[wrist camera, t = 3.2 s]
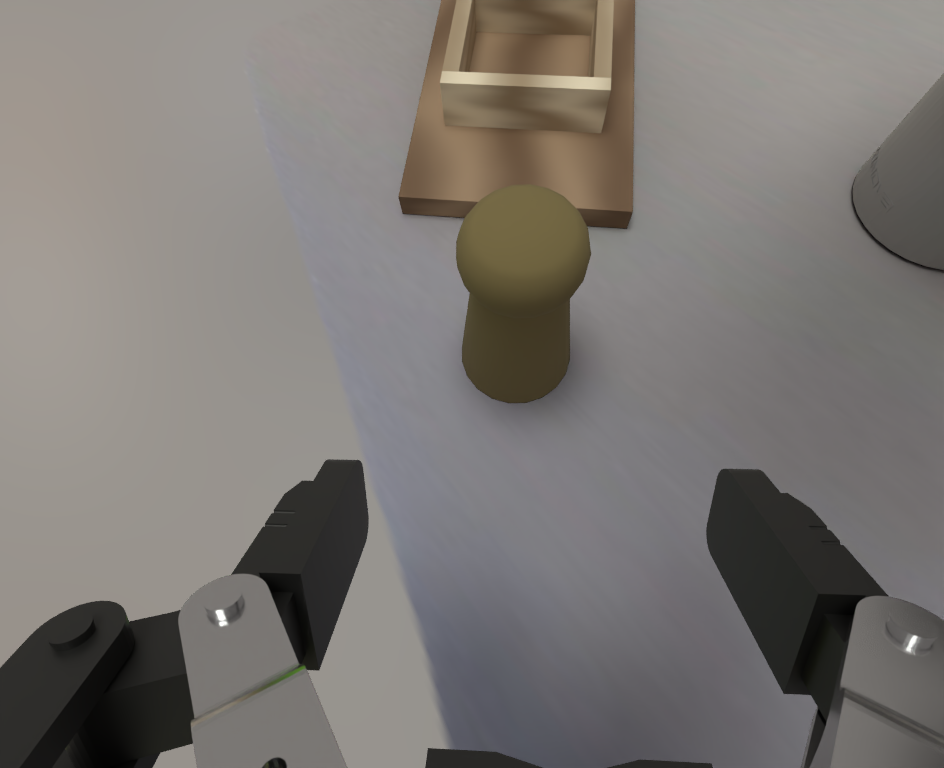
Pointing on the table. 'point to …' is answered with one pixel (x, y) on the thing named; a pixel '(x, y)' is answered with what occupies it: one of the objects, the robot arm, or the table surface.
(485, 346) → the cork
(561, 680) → the table surface
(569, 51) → the collar board
